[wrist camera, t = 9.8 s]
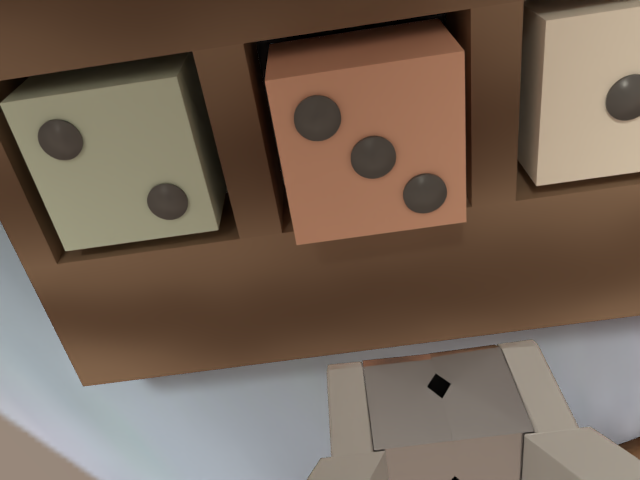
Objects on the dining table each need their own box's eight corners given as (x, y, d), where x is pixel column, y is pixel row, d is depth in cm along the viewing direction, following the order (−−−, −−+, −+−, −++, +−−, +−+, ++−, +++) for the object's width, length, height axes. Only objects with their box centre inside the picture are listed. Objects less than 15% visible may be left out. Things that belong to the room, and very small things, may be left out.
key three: (269, 43, 16) (264, 82, 14) (437, 18, 16) (465, 52, 14) (296, 191, 19) (296, 247, 16) (443, 170, 19) (467, 223, 16)
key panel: (-103, -148, 15) (-183, -146, 12) (778, -301, 14) (883, -331, 11) (105, 328, 23) (83, 386, 21) (665, 253, 22) (711, 306, 20)
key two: (41, 66, 18) (-3, 104, 15) (193, 42, 18) (175, 77, 15) (94, 200, 20) (64, 253, 18) (227, 181, 20) (218, 232, 17)
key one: (509, -6, 17) (547, 21, 15) (673, -31, 17) (742, -8, 14) (505, 141, 20) (537, 187, 17) (648, 121, 19) (703, 164, 17)
